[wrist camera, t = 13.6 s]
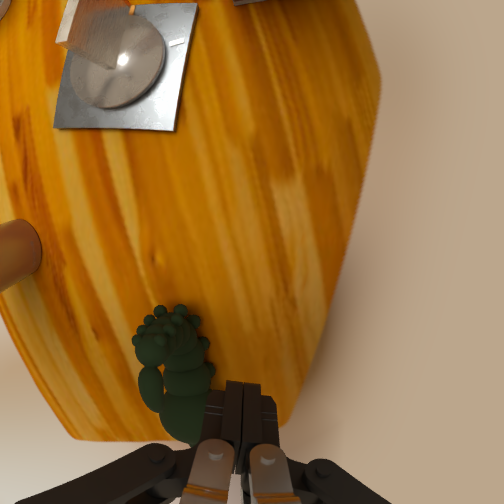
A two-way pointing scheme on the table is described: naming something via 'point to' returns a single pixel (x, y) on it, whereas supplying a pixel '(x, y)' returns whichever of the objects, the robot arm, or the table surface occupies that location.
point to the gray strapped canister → (4, 7)
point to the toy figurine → (174, 371)
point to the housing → (160, 93)
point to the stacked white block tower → (244, 1)
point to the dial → (110, 51)
